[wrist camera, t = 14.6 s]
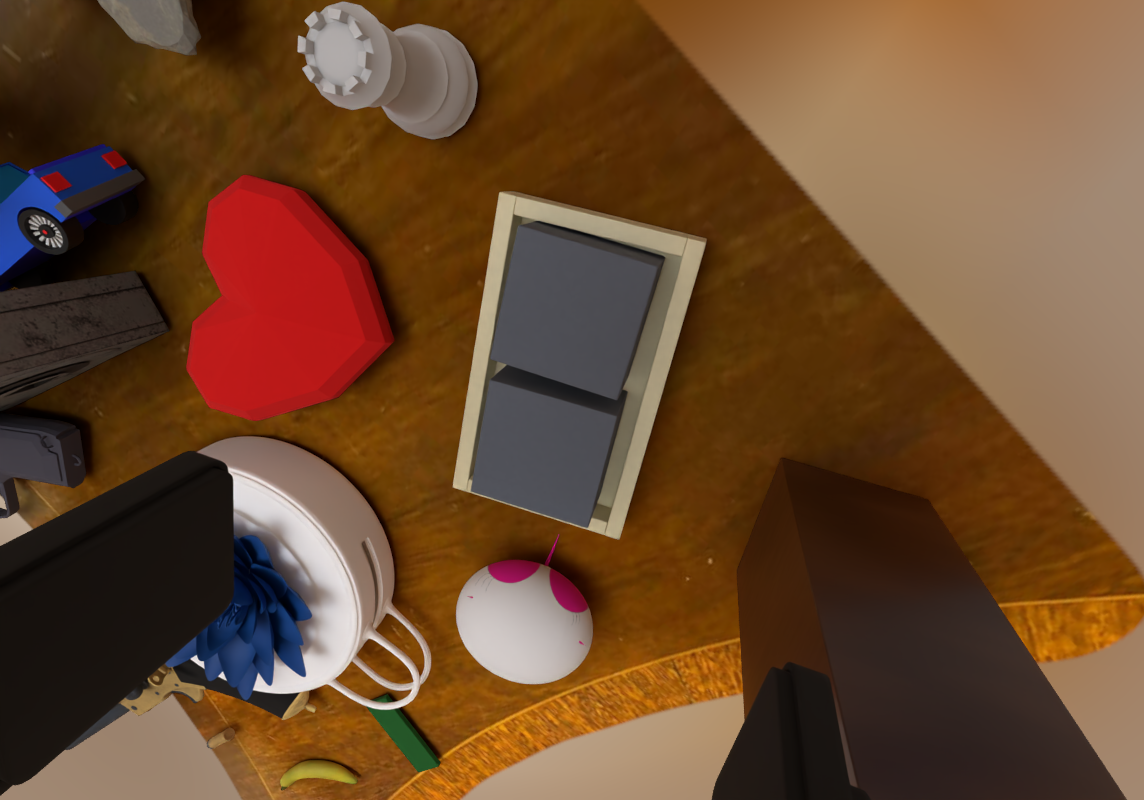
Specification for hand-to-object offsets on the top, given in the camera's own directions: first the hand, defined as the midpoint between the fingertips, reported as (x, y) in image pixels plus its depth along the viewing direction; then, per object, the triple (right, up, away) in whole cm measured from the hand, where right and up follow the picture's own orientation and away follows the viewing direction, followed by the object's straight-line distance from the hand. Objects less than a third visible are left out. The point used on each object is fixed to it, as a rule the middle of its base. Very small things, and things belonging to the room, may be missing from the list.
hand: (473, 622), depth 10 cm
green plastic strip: (-9, -19, +31) cm, 38 cm away
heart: (-12, +9, +23) cm, 27 cm away
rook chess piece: (-5, +18, +18) cm, 25 cm away
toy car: (-26, +11, +22) cm, 36 cm away
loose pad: (+2, +8, +19) cm, 21 cm away
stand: (+14, -3, +20) cm, 25 cm away
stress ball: (0, -7, +25) cm, 26 cm away
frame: (+2, +5, +20) cm, 21 cm away
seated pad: (+1, +2, +21) cm, 21 cm away
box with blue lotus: (-15, -7, +29) cm, 33 cm away
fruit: (-18, -23, +35) cm, 45 cm away
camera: (-29, +7, +27) cm, 41 cm away
